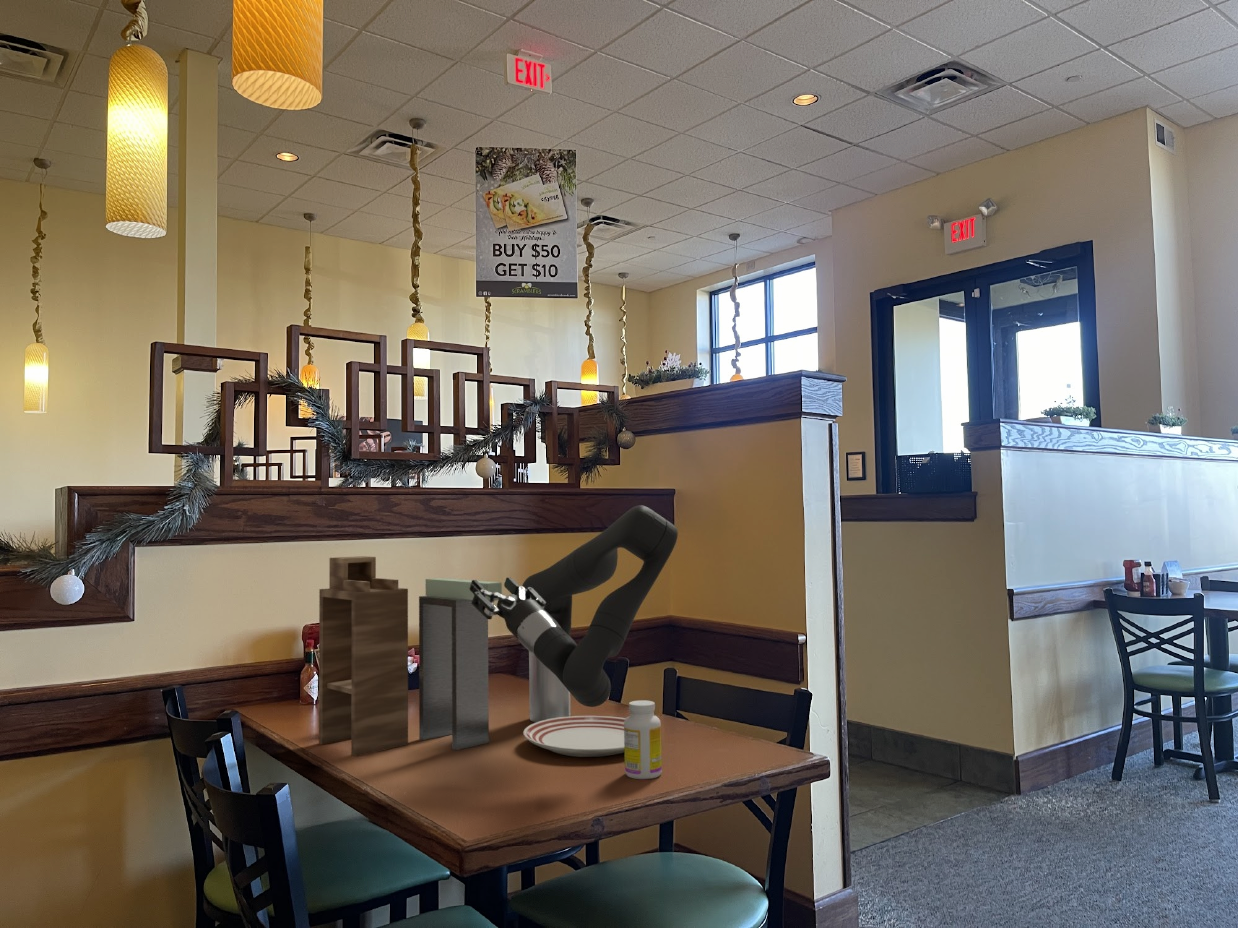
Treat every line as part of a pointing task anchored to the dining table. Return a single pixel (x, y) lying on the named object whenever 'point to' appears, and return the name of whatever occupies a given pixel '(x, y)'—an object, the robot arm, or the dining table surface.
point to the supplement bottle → (642, 741)
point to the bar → (458, 588)
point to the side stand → (453, 671)
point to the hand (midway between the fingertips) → (489, 582)
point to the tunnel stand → (363, 658)
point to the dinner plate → (579, 735)
